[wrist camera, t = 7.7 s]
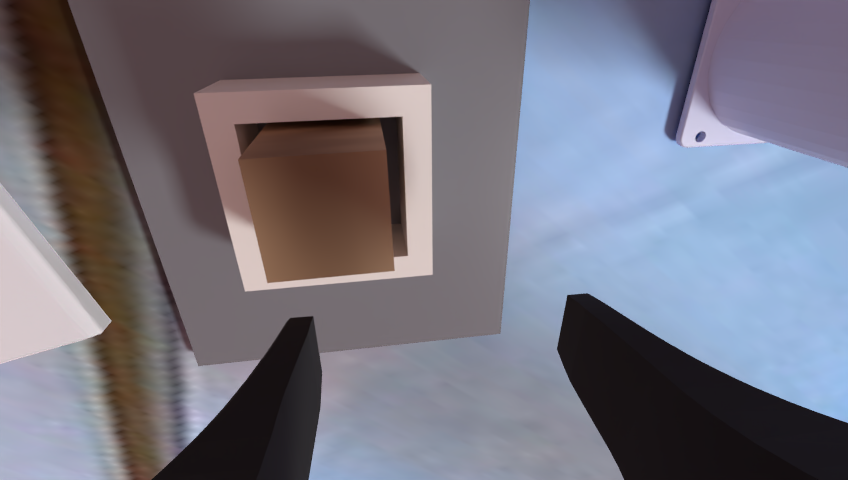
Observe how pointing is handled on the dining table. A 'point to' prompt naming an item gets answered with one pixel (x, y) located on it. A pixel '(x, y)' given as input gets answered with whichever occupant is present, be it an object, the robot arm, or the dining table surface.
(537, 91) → the dining table surface
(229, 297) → the socket
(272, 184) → the brown rectangular block
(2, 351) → the external hard drive
